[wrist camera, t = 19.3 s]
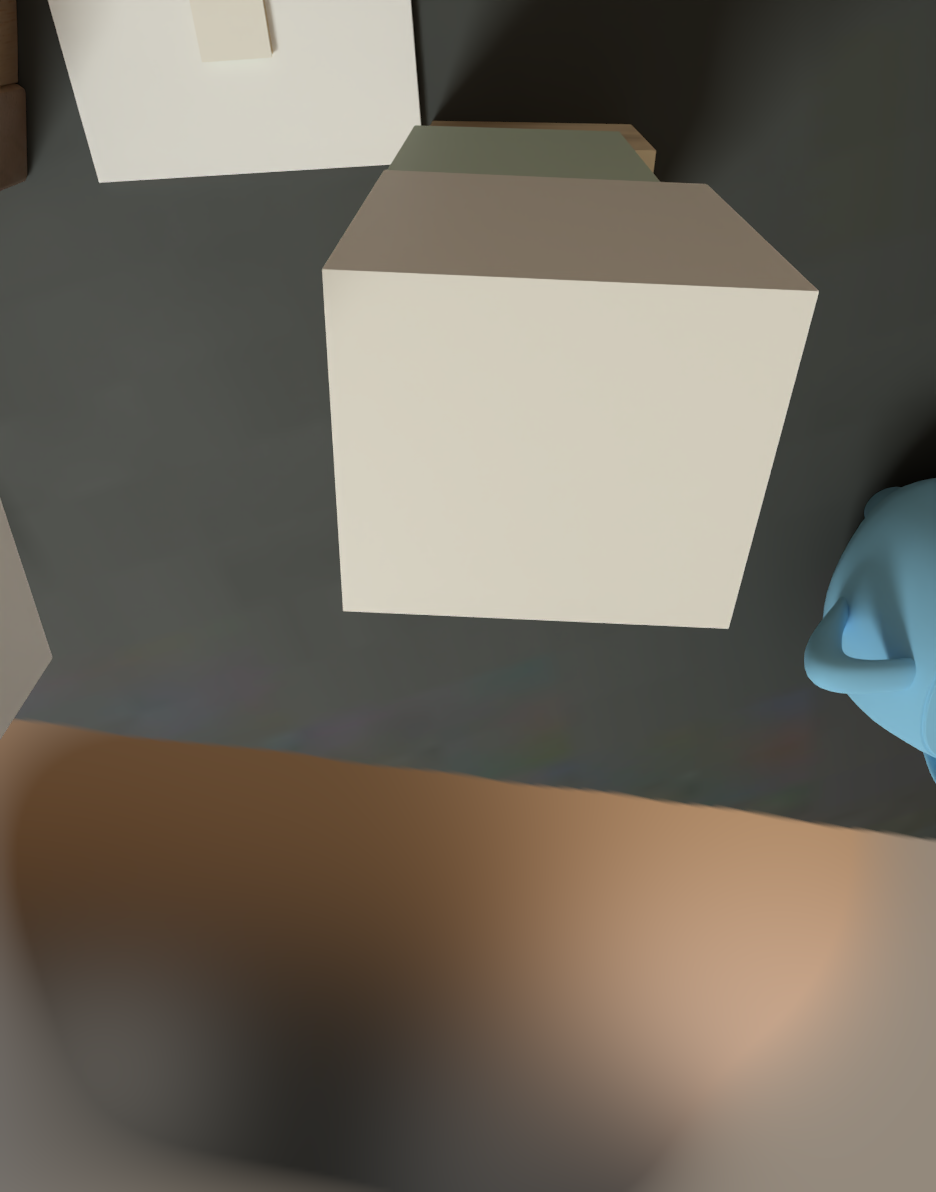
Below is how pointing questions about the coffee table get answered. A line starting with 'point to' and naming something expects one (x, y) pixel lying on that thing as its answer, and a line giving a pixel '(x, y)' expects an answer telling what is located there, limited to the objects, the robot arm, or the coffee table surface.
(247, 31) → the page
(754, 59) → the coffee table surface
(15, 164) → the wooden toy
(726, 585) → the cream block
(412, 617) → the coffee table surface
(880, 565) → the teapot
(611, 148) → the sage block
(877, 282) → the coffee table surface
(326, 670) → the coffee table surface
